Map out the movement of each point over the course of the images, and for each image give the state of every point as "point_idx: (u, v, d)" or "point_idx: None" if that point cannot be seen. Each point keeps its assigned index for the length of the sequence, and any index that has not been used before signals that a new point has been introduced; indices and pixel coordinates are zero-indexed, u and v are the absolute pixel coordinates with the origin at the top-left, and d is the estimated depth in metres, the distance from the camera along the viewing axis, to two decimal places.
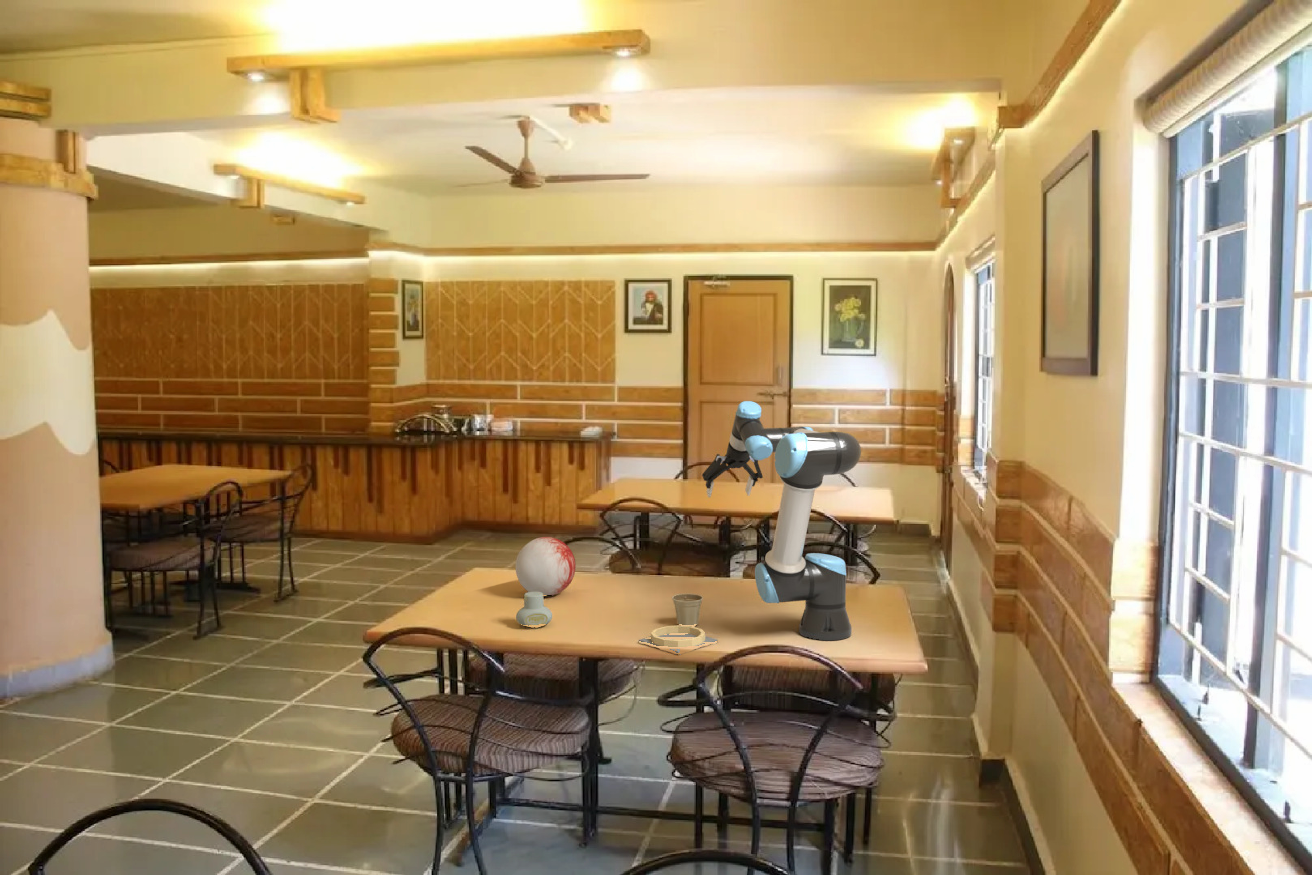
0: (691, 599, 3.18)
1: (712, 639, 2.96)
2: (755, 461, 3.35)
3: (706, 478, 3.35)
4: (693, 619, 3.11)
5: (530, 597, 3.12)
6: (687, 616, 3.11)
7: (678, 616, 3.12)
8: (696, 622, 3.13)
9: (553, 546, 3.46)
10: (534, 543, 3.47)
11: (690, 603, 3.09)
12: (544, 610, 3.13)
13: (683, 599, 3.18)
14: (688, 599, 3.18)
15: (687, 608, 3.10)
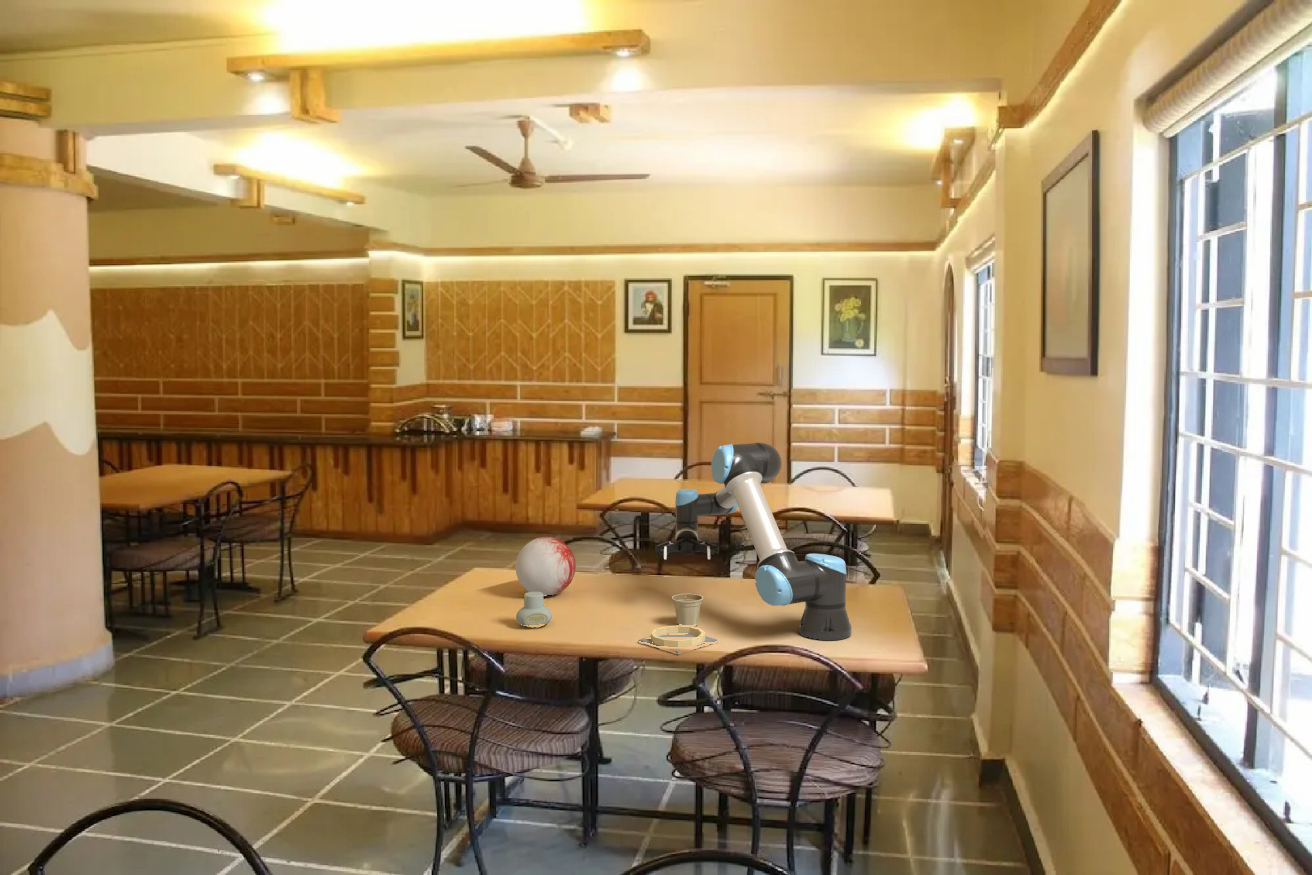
0: (691, 599, 3.18)
1: (712, 639, 2.96)
2: (705, 541, 3.37)
3: (657, 545, 3.31)
4: (693, 619, 3.11)
5: (530, 597, 3.12)
6: (687, 616, 3.11)
7: (678, 616, 3.12)
8: (696, 622, 3.13)
9: (553, 546, 3.46)
10: (534, 543, 3.47)
11: (690, 603, 3.09)
12: (543, 610, 3.13)
13: (683, 599, 3.18)
14: (688, 599, 3.18)
15: (687, 608, 3.10)
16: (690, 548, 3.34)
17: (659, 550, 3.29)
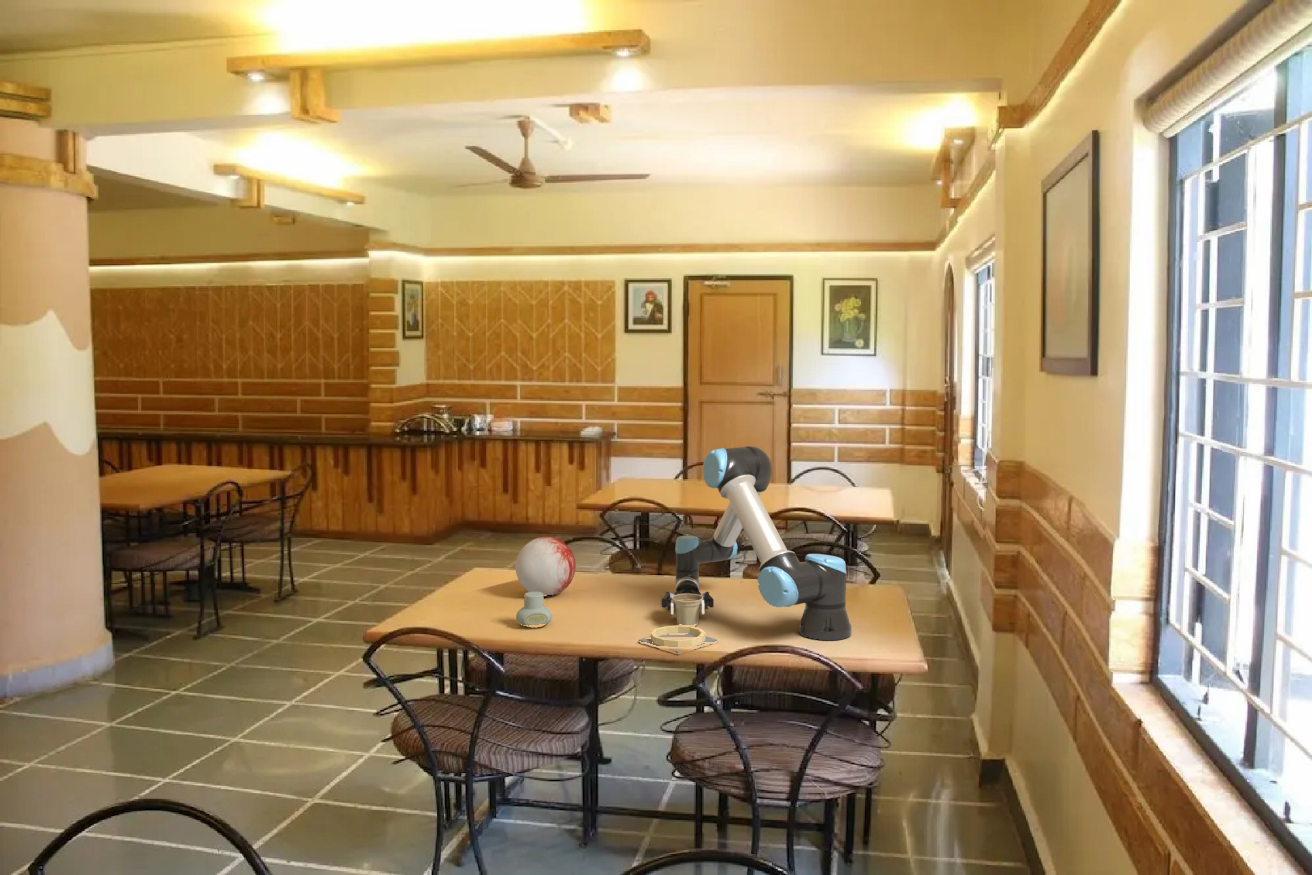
0: (691, 599, 3.18)
1: (712, 639, 2.96)
2: (706, 593, 3.24)
3: (663, 598, 3.18)
4: (693, 619, 3.11)
5: (530, 597, 3.12)
6: (687, 616, 3.11)
7: (678, 616, 3.12)
8: (696, 622, 3.13)
9: (553, 546, 3.46)
10: (534, 543, 3.47)
11: (690, 603, 3.09)
12: (544, 610, 3.13)
13: (683, 599, 3.18)
14: (688, 599, 3.18)
15: (687, 607, 3.10)
16: None
17: (666, 604, 3.16)
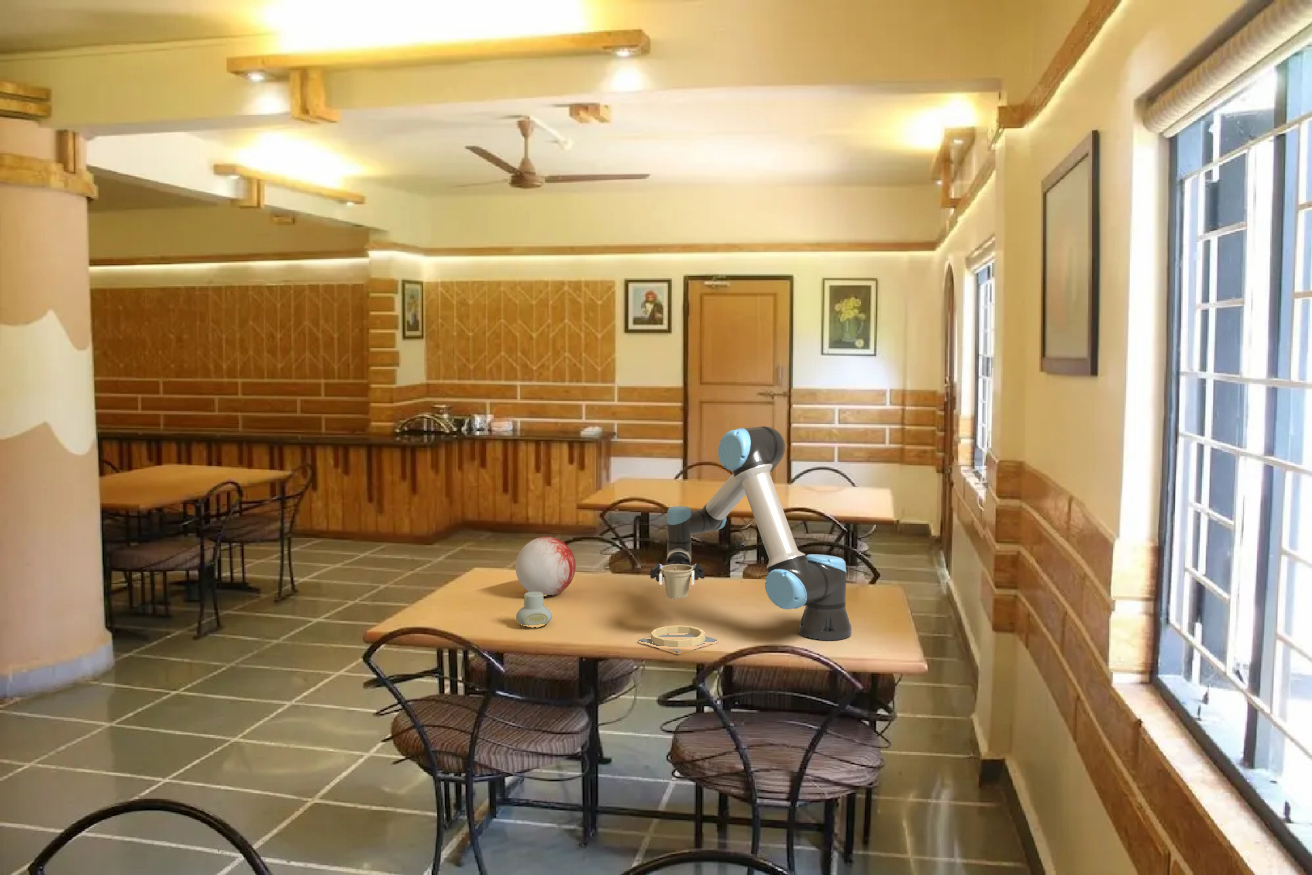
0: (681, 570, 3.05)
1: (712, 639, 2.96)
2: (697, 564, 3.11)
3: (652, 569, 3.05)
4: (683, 590, 2.99)
5: (530, 597, 3.12)
6: (677, 587, 2.98)
7: (667, 587, 2.99)
8: (686, 593, 3.00)
9: (553, 546, 3.46)
10: (534, 543, 3.47)
11: (679, 573, 2.97)
12: (543, 610, 3.13)
13: (673, 570, 3.05)
14: (678, 570, 3.05)
15: (676, 578, 2.97)
16: None
17: (654, 574, 3.04)
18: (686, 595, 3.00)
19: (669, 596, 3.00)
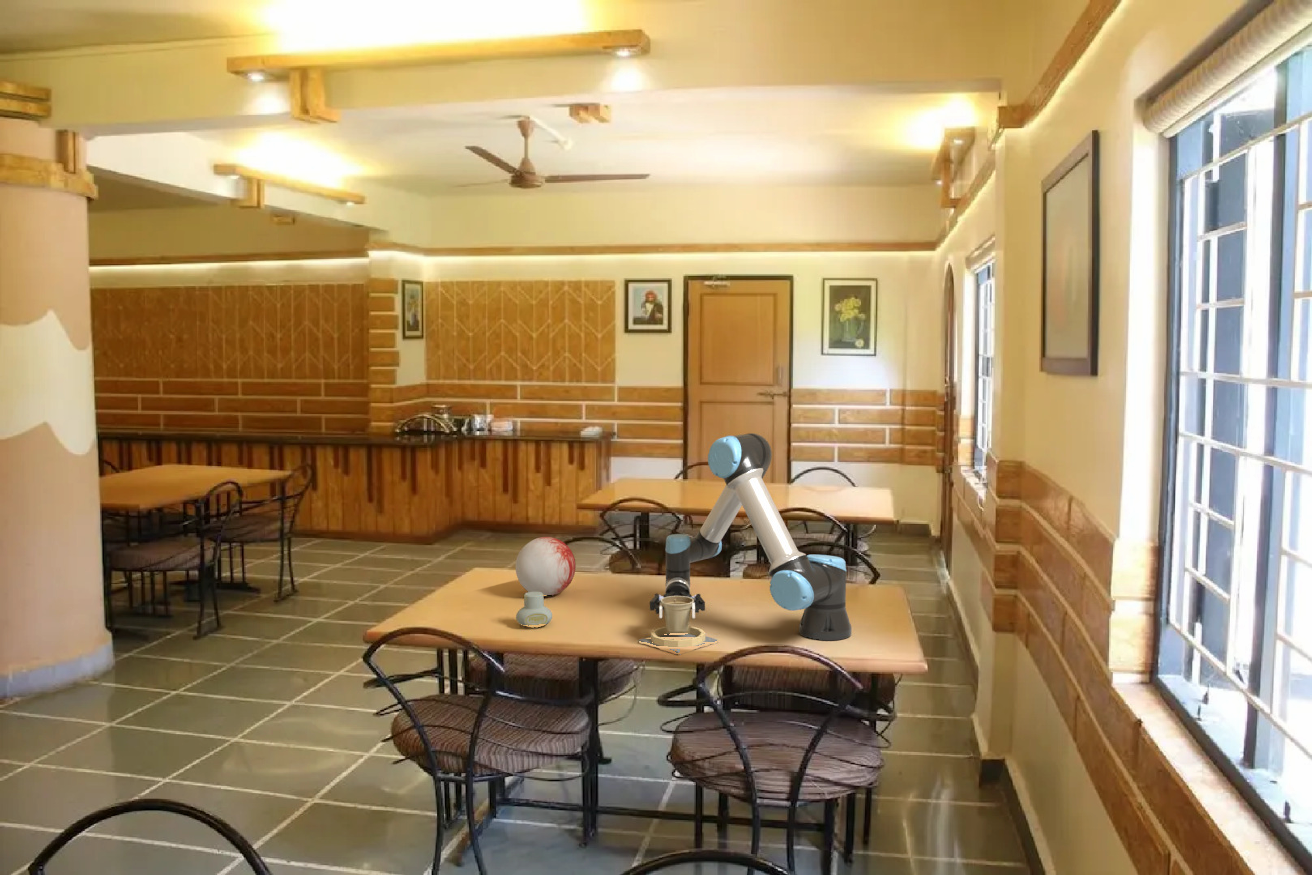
0: (681, 602, 2.99)
1: (712, 639, 2.96)
2: (697, 595, 3.06)
3: (652, 601, 2.99)
4: (683, 623, 2.93)
5: (530, 597, 3.12)
6: (677, 620, 2.92)
7: (667, 620, 2.94)
8: (686, 626, 2.94)
9: (553, 546, 3.46)
10: (534, 543, 3.47)
11: (680, 606, 2.91)
12: (544, 610, 3.13)
13: (673, 602, 2.99)
14: (678, 602, 2.99)
15: (677, 611, 2.92)
16: None
17: (654, 606, 2.98)
18: (686, 628, 2.94)
19: (669, 629, 2.94)
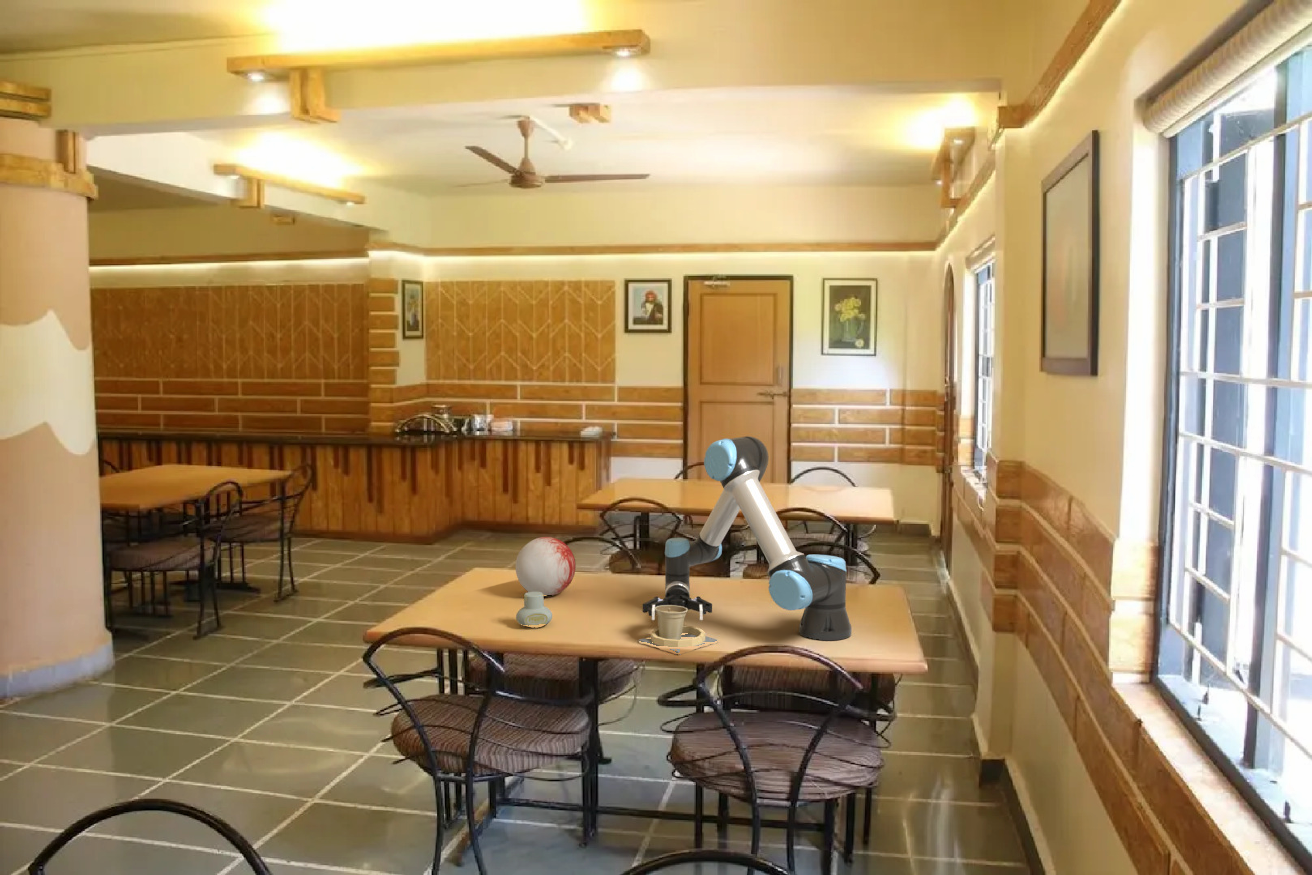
0: (675, 611, 3.00)
1: (712, 639, 2.96)
2: (697, 597, 3.08)
3: (645, 603, 3.02)
4: (676, 632, 2.94)
5: (530, 597, 3.12)
6: (670, 629, 2.93)
7: (660, 628, 2.95)
8: (679, 635, 2.95)
9: (553, 546, 3.46)
10: (534, 543, 3.47)
11: (673, 614, 2.92)
12: (544, 610, 3.13)
13: (667, 611, 3.00)
14: (672, 611, 3.00)
15: (670, 619, 2.92)
16: (681, 605, 3.06)
17: (647, 609, 3.01)
18: (679, 637, 2.95)
19: (662, 637, 2.95)
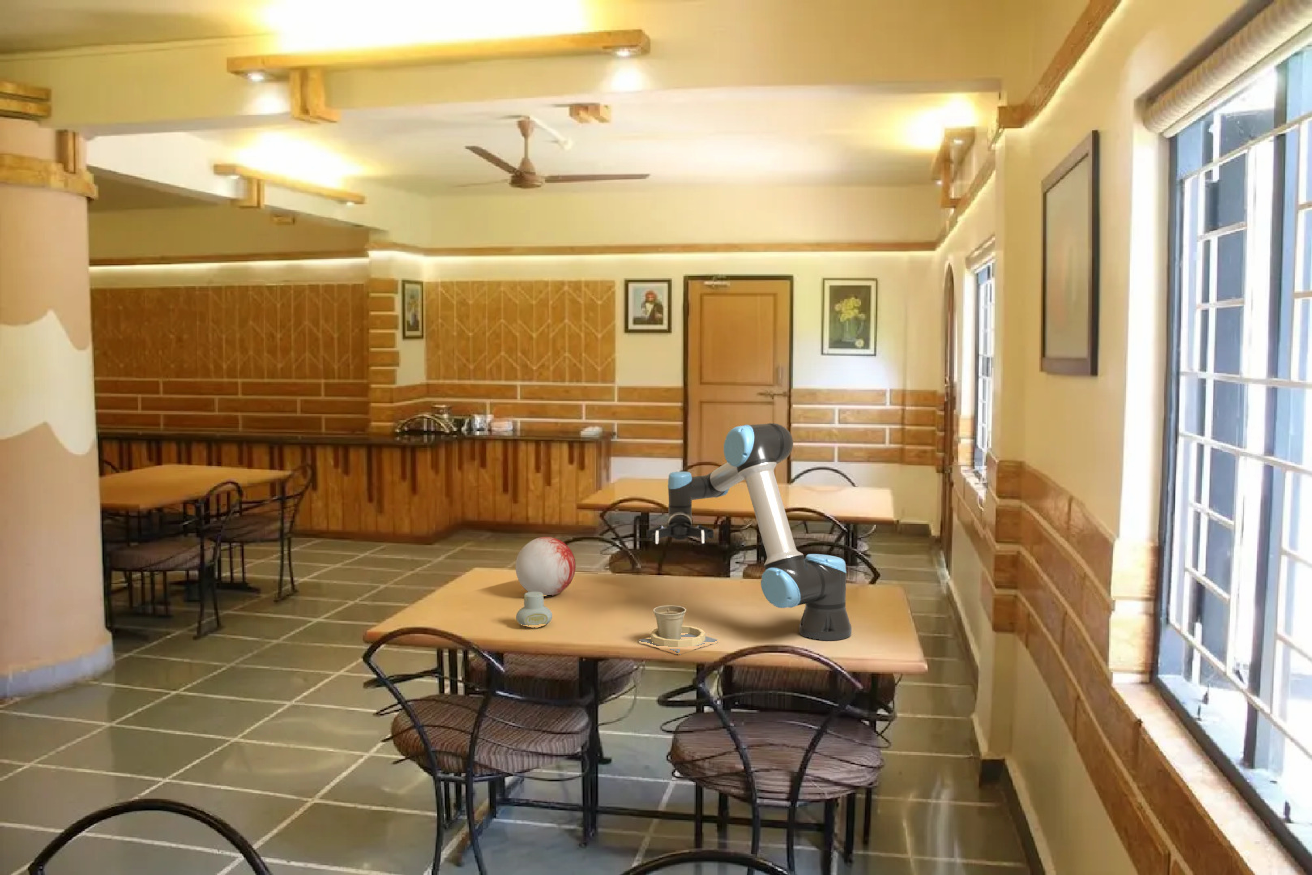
0: (674, 611, 3.00)
1: (712, 639, 2.96)
2: (699, 525, 3.19)
3: None
4: (675, 633, 2.94)
5: (530, 597, 3.12)
6: (669, 630, 2.93)
7: (659, 629, 2.95)
8: (678, 636, 2.95)
9: (553, 546, 3.46)
10: (534, 543, 3.47)
11: (671, 616, 2.92)
12: (544, 610, 3.13)
13: (666, 611, 3.00)
14: (671, 611, 3.00)
15: (668, 621, 2.92)
16: (683, 532, 3.17)
17: (650, 534, 3.12)
18: (679, 638, 2.95)
19: None
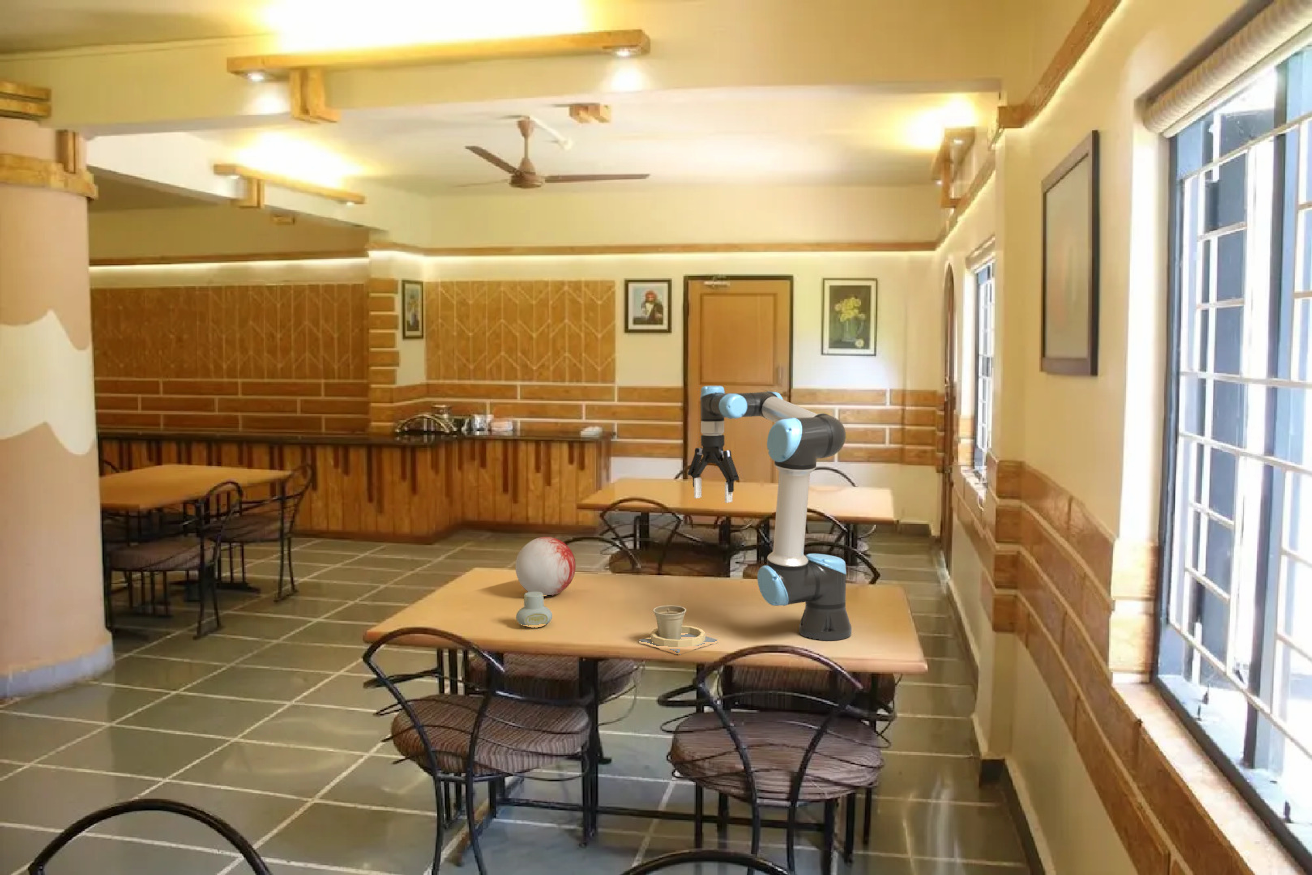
0: (674, 611, 3.00)
1: (712, 639, 2.96)
2: (724, 456, 3.27)
3: (689, 472, 3.38)
4: (675, 633, 2.94)
5: (530, 597, 3.12)
6: (669, 630, 2.93)
7: (659, 629, 2.95)
8: (678, 636, 2.95)
9: (553, 546, 3.46)
10: (534, 543, 3.47)
11: (671, 616, 2.92)
12: (544, 610, 3.13)
13: (666, 611, 3.00)
14: (671, 611, 3.00)
15: (668, 621, 2.92)
16: None
17: None
18: (679, 638, 2.95)
19: None
